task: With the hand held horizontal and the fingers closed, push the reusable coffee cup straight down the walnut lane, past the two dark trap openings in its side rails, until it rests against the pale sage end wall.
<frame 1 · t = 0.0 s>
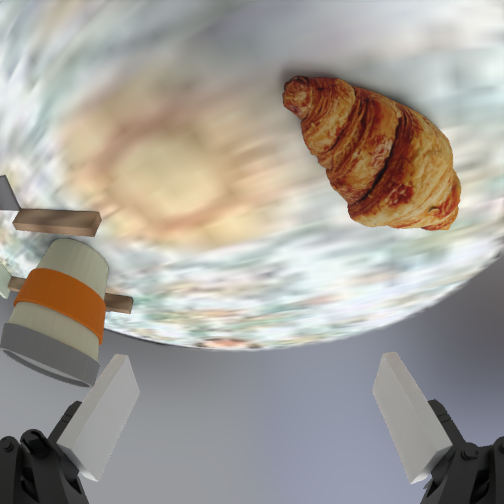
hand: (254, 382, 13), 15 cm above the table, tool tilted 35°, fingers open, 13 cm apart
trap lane: (42, 256, 30), on the table
reusable coffee cup: (78, 259, 31), on the table
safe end: (19, 252, 30), on the table
croissant: (384, 154, 20), on the table
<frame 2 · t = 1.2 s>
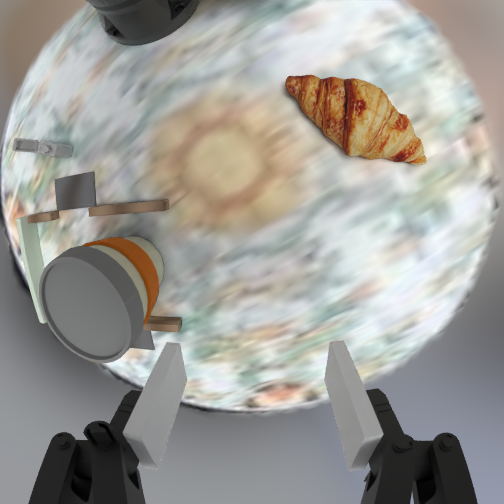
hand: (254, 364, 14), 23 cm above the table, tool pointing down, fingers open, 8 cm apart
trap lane: (99, 266, 38), on the table
reusable coffee cup: (136, 266, 38), on the table
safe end: (75, 266, 38), on the table
lighter: (58, 147, 33), on the table
croissant: (356, 124, 32), on the table
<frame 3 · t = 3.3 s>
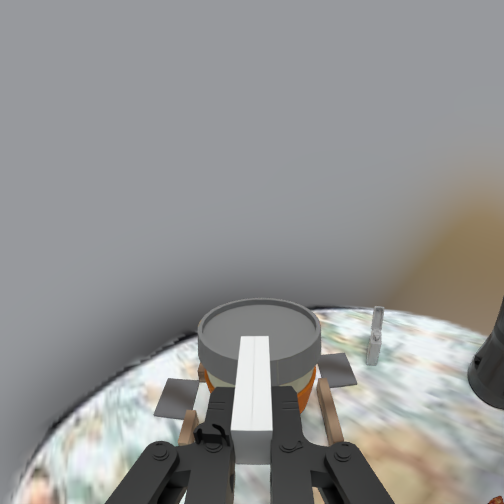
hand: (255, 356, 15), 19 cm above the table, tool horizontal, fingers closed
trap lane: (261, 387, 37), on the table
reusable coffee cup: (261, 421, 31), on the table
lighter: (371, 353, 43), on the table
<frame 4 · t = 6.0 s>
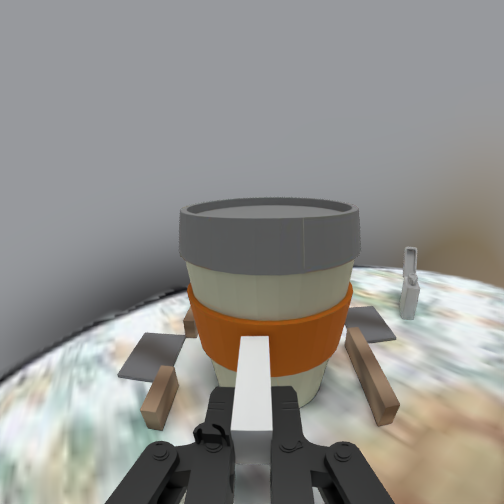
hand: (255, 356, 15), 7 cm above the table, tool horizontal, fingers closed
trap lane: (268, 343, 28), on the table
reusable coffee cup: (269, 380, 23), on the table, touching gripper
lighter: (404, 308, 34), on the table
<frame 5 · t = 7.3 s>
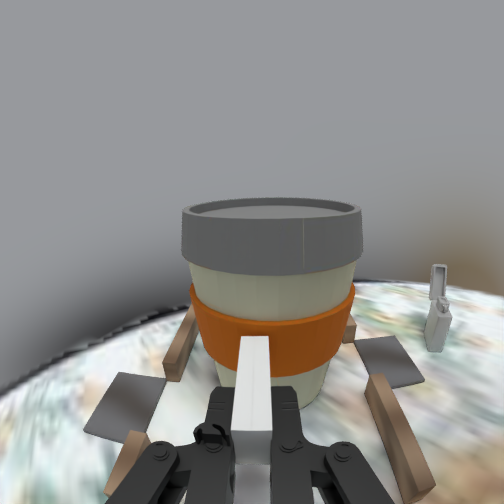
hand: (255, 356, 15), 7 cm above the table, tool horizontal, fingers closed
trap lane: (269, 393, 21), on the table
reusable coffee cup: (271, 380, 23), on the table, touching gripper
lighter: (430, 336, 27), on the table
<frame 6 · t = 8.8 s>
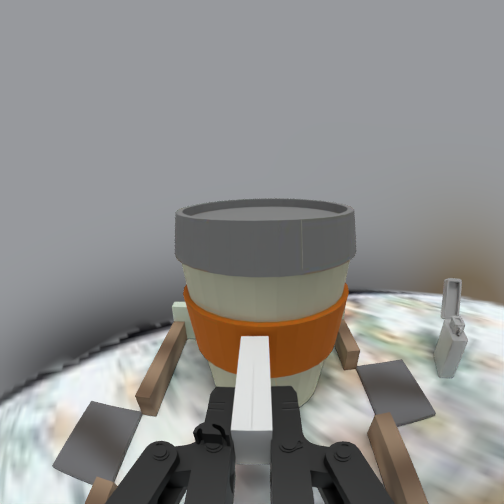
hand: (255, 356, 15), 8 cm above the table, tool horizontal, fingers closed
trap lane: (257, 433, 17), on the table
reusable coffee cup: (266, 381, 23), on the table, touching gripper
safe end: (258, 389, 22), on the table
lighter: (440, 358, 23), on the table
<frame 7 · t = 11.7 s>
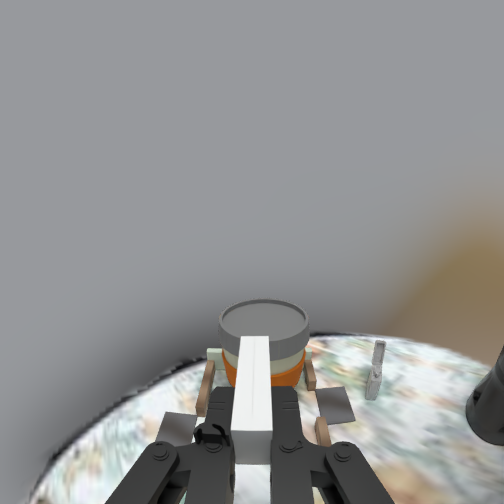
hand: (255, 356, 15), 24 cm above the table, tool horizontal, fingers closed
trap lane: (259, 423, 35), on the table
reusable coffee cup: (263, 396, 41), on the table
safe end: (259, 400, 40), on the table
lighter: (371, 387, 40), on the table
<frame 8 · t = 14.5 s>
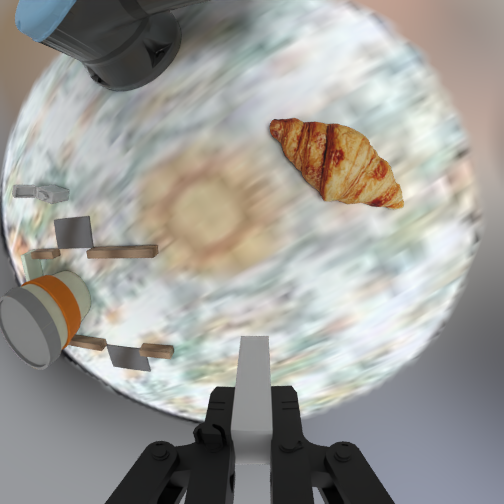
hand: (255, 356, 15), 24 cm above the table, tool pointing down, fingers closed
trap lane: (99, 299, 42), on the table
reusable coffee cup: (72, 293, 42), on the table
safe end: (77, 298, 42), on the table
lighter: (55, 190, 37), on the table
croissant: (337, 167, 36), on the table
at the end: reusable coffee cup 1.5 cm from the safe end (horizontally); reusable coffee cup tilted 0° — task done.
